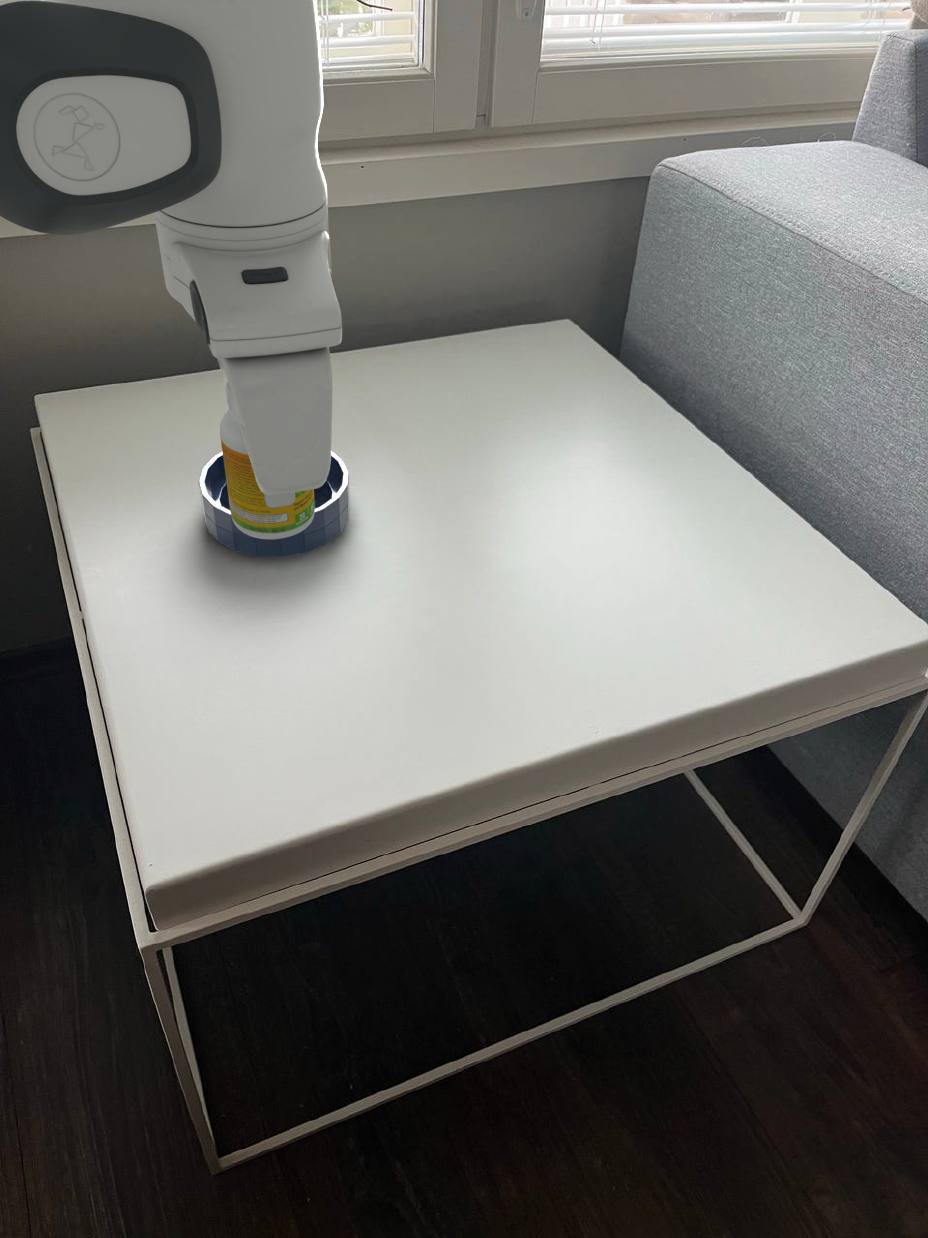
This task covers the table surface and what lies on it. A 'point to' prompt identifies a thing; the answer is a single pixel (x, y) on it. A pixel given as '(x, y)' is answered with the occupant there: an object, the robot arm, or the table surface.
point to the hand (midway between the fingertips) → (268, 470)
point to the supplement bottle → (257, 490)
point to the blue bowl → (322, 529)
